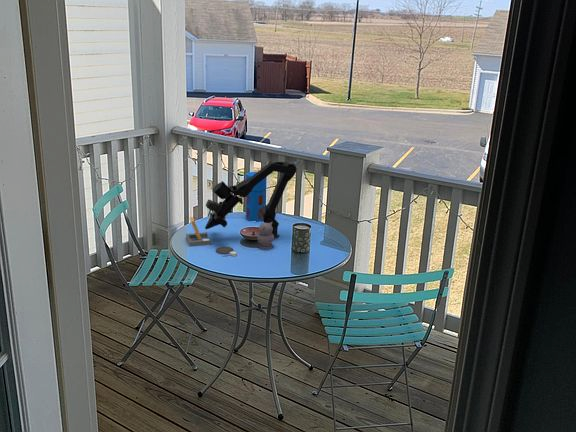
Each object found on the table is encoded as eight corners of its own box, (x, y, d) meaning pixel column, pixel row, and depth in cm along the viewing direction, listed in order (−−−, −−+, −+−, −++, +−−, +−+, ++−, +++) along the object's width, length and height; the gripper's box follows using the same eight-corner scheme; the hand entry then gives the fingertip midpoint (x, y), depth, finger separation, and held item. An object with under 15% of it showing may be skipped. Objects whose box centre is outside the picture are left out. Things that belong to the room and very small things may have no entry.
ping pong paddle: (241, 253, 256) (241, 250, 256) (229, 259, 250) (229, 256, 249) (223, 248, 262) (223, 245, 261) (212, 253, 256) (212, 250, 255)
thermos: (266, 216, 307) (267, 172, 298) (264, 222, 297) (265, 177, 288) (247, 214, 307) (247, 171, 299) (244, 221, 297) (244, 176, 289)
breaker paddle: (200, 236, 269) (192, 216, 265) (202, 241, 264) (194, 220, 259) (197, 237, 269) (189, 217, 264) (199, 242, 264) (191, 222, 259)
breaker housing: (206, 237, 273) (206, 231, 272) (211, 246, 263) (210, 240, 262) (185, 239, 270) (185, 233, 269) (189, 248, 260) (189, 242, 259)
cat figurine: (263, 242, 271) (264, 219, 267) (277, 245, 267) (277, 222, 263) (253, 247, 264) (253, 224, 260) (267, 251, 260) (268, 227, 256)
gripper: (212, 188, 270) (190, 212, 270) (219, 200, 253) (196, 225, 254) (228, 202, 275) (206, 225, 275) (236, 215, 258) (213, 239, 259)
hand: (205, 228), depth 266 cm, fingers closed
